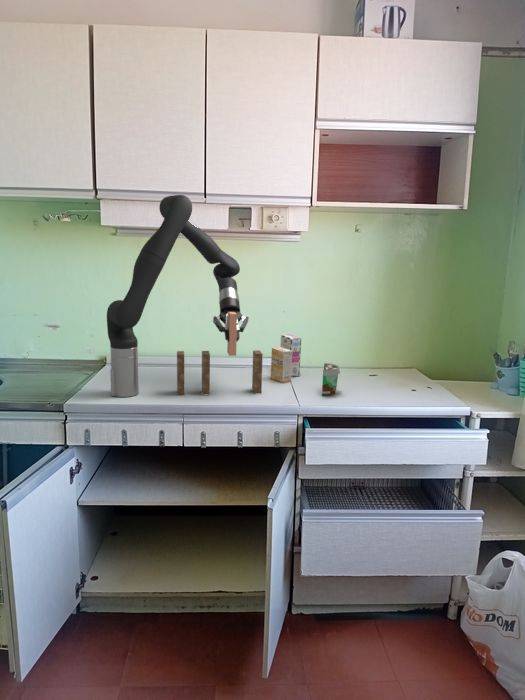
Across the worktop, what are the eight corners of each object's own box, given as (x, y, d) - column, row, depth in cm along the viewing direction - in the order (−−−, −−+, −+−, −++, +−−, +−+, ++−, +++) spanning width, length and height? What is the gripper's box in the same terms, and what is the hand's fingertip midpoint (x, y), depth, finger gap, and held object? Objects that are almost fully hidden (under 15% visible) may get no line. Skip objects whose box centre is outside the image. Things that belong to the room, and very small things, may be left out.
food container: (338, 398, 179) (340, 371, 177) (321, 396, 179) (323, 370, 177) (338, 388, 190) (340, 363, 188) (322, 387, 191) (324, 362, 189)
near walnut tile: (177, 395, 176) (177, 354, 173) (177, 391, 181) (176, 351, 178) (184, 395, 176) (184, 354, 173) (184, 390, 182) (183, 351, 179)
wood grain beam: (254, 393, 181) (255, 353, 178) (252, 389, 186) (253, 350, 183) (261, 393, 181) (262, 353, 178) (258, 389, 187) (259, 350, 184)
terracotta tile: (229, 355, 176) (230, 314, 173) (227, 352, 182) (228, 311, 179) (236, 355, 177) (237, 314, 174) (234, 352, 183) (234, 311, 180)
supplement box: (269, 378, 202) (270, 347, 200) (279, 377, 205) (280, 346, 203) (282, 383, 196) (283, 351, 193) (291, 381, 199) (293, 350, 196)
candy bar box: (300, 376, 207) (302, 338, 204) (289, 377, 205) (290, 338, 202) (289, 370, 217) (290, 333, 214) (278, 371, 215) (280, 334, 212)
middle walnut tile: (202, 395, 177) (202, 354, 174) (201, 390, 183) (201, 350, 180) (209, 394, 178) (209, 354, 175) (208, 390, 183) (208, 350, 180)
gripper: (211, 295, 181) (214, 334, 172) (248, 296, 184) (253, 334, 175) (210, 308, 187) (212, 346, 178) (246, 308, 190) (250, 346, 181)
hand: (232, 340), depth 176 cm, fingers closed on terracotta tile, 2 cm apart
